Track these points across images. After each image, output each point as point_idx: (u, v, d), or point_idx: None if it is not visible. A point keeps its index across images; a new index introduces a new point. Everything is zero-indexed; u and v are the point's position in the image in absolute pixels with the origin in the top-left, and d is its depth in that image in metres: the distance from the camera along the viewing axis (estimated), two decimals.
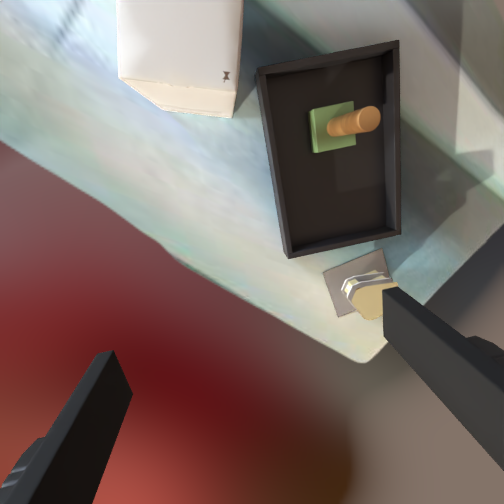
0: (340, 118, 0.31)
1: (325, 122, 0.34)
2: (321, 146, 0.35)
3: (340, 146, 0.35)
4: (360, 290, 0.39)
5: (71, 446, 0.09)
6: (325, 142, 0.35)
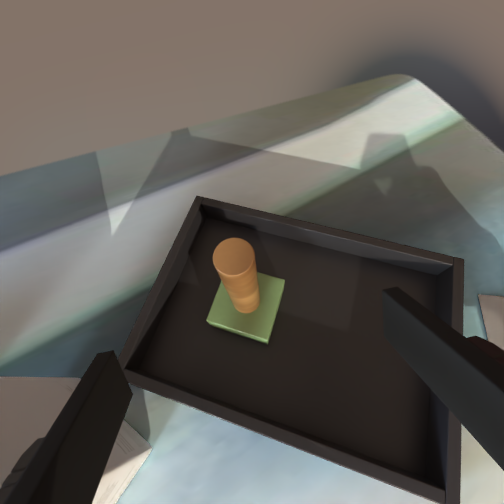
0: (227, 293, 0.19)
1: (232, 310, 0.22)
2: (261, 330, 0.21)
3: (276, 302, 0.22)
4: None
5: (71, 446, 0.09)
6: (259, 322, 0.21)
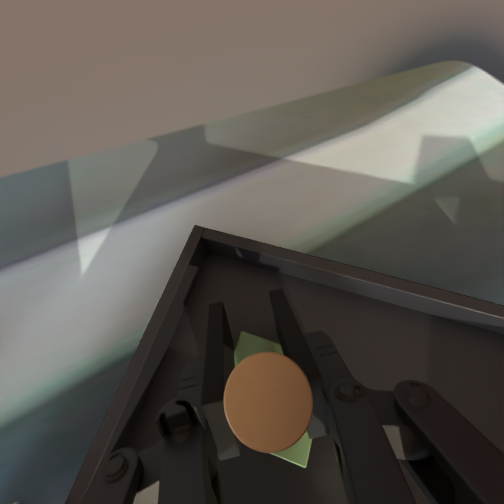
0: None
1: None
2: (296, 450, 0.13)
3: None
4: None
5: (225, 362, 0.11)
6: None
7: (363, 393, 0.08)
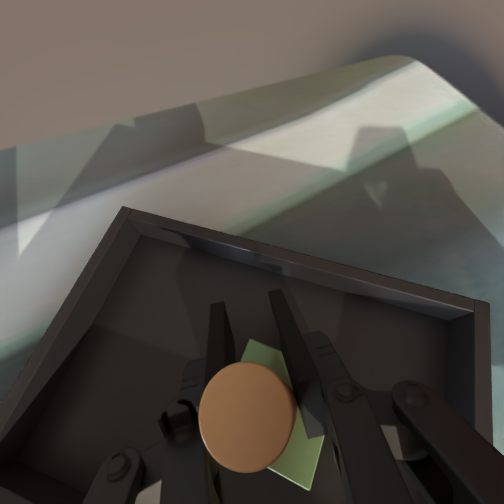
0: None
1: None
2: (299, 470, 0.12)
3: None
4: None
5: (227, 361, 0.11)
6: (296, 452, 0.13)
7: (361, 393, 0.08)
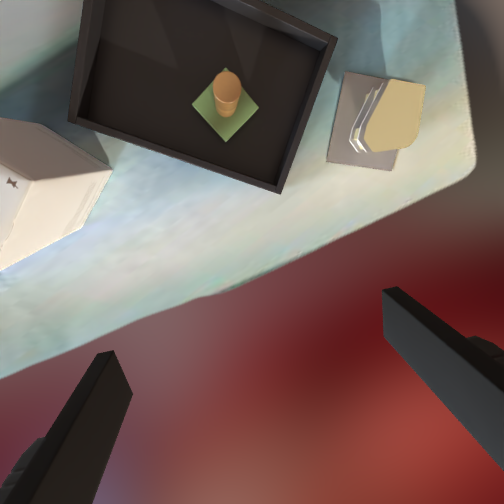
0: None
1: (213, 107, 0.29)
2: (225, 133, 0.30)
3: (244, 120, 0.30)
4: (367, 134, 0.29)
5: (71, 446, 0.09)
6: (226, 127, 0.30)
7: None
